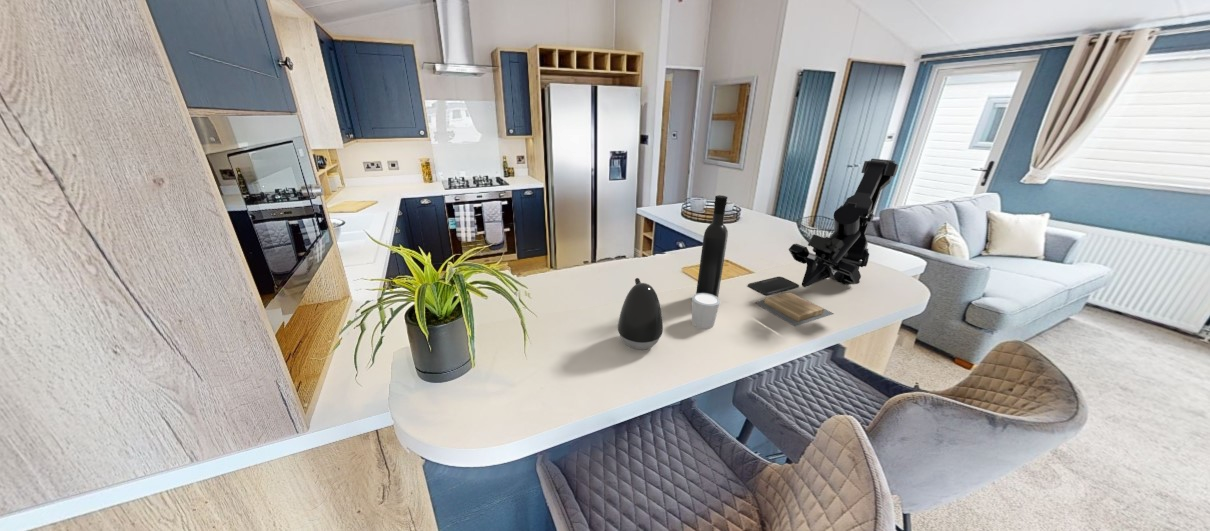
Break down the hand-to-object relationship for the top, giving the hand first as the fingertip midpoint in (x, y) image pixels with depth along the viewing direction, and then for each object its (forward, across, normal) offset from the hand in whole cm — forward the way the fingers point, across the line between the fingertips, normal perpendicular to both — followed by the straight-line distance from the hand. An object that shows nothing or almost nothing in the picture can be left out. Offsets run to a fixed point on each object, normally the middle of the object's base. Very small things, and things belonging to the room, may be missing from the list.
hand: (803, 286), depth 105 cm
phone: (+2, -13, +9) cm, 15 cm away
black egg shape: (+40, -4, -30) cm, 50 cm away
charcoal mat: (+6, 0, +4) cm, 7 cm away
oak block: (+2, 0, +6) cm, 6 cm away
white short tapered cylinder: (+26, -5, -16) cm, 31 cm away
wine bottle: (+20, -14, -10) cm, 26 cm away
